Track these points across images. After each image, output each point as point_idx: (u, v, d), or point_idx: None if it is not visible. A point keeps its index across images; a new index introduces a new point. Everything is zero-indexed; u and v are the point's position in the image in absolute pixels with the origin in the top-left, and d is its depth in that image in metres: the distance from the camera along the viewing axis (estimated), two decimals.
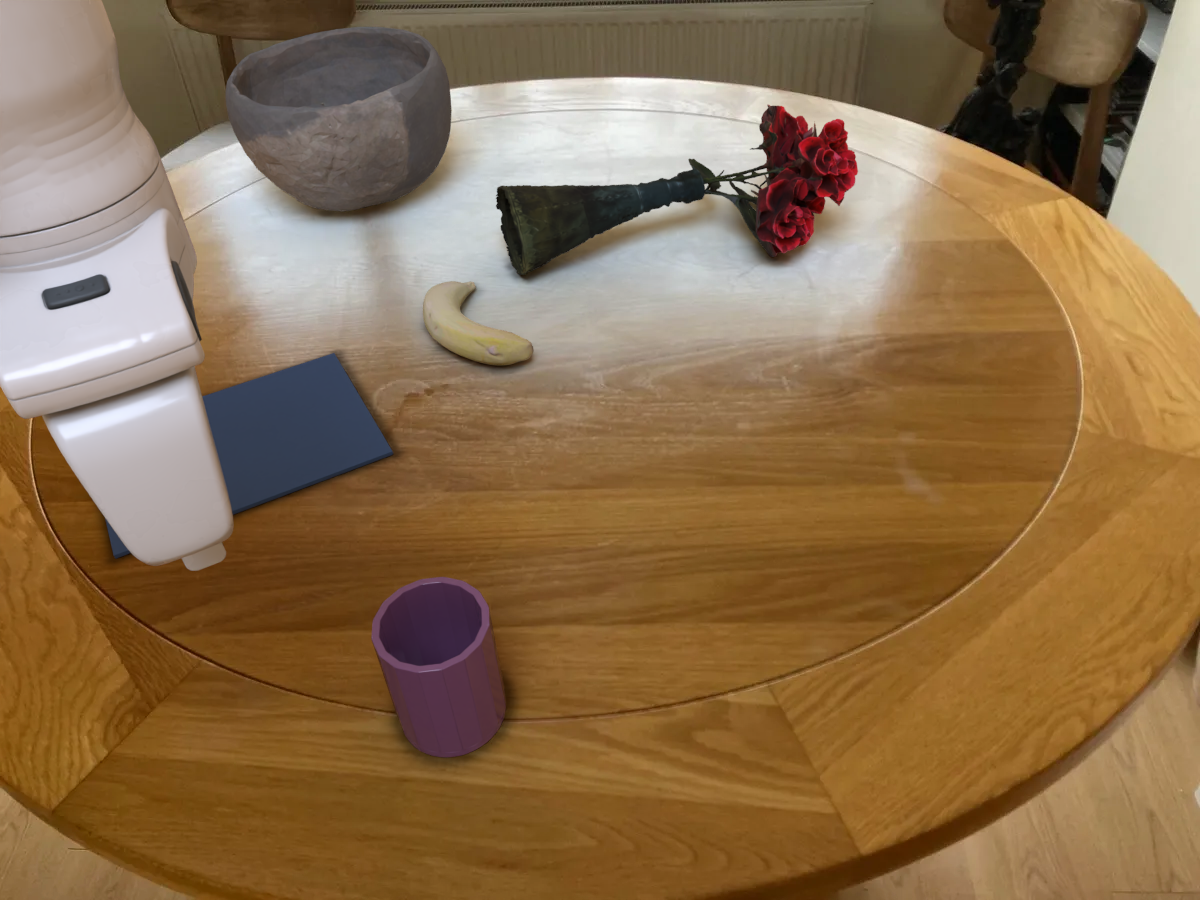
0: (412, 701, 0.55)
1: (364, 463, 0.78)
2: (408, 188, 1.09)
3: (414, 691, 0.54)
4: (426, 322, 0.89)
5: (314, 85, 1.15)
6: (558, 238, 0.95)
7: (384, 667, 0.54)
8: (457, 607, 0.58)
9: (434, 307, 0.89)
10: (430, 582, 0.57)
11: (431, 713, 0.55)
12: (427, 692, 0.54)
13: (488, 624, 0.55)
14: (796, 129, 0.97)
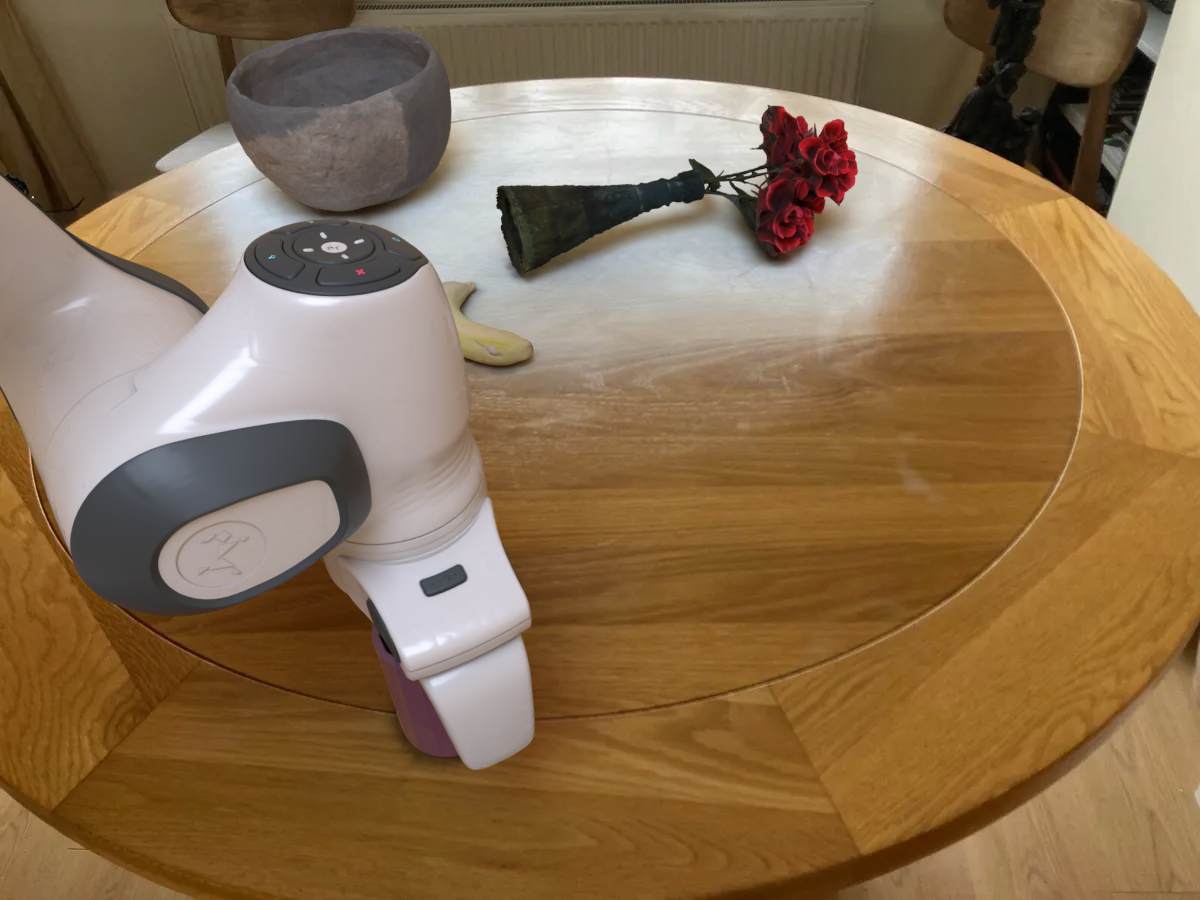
0: (412, 701, 0.55)
1: None
2: (408, 188, 1.09)
3: (414, 691, 0.54)
4: None
5: (314, 85, 1.15)
6: (558, 237, 0.95)
7: (384, 667, 0.54)
8: None
9: None
10: None
11: (431, 713, 0.55)
12: None
13: None
14: (796, 129, 0.97)
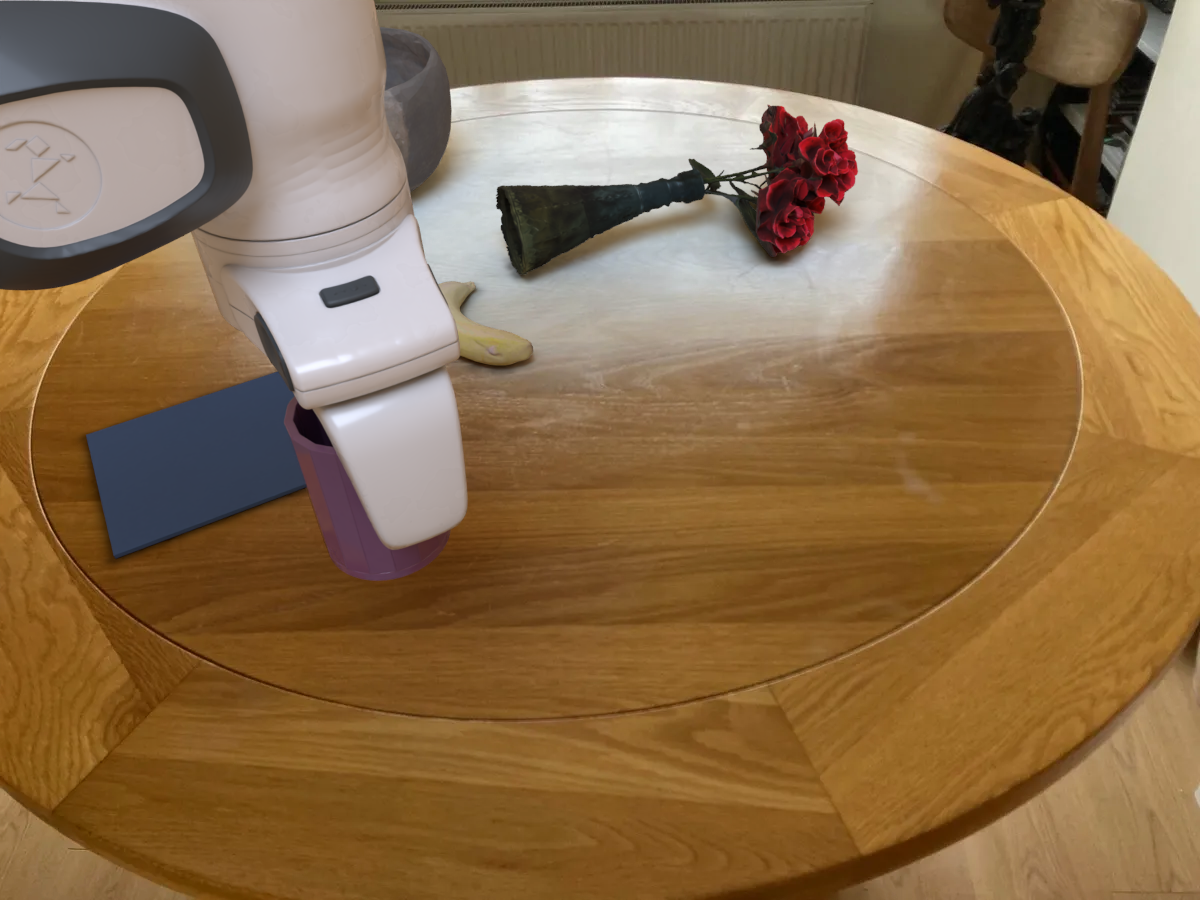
0: (332, 499, 0.46)
1: None
2: None
3: (333, 483, 0.45)
4: None
5: None
6: (558, 237, 0.95)
7: (298, 454, 0.45)
8: None
9: None
10: None
11: (355, 515, 0.46)
12: (349, 484, 0.45)
13: None
14: (796, 129, 0.97)
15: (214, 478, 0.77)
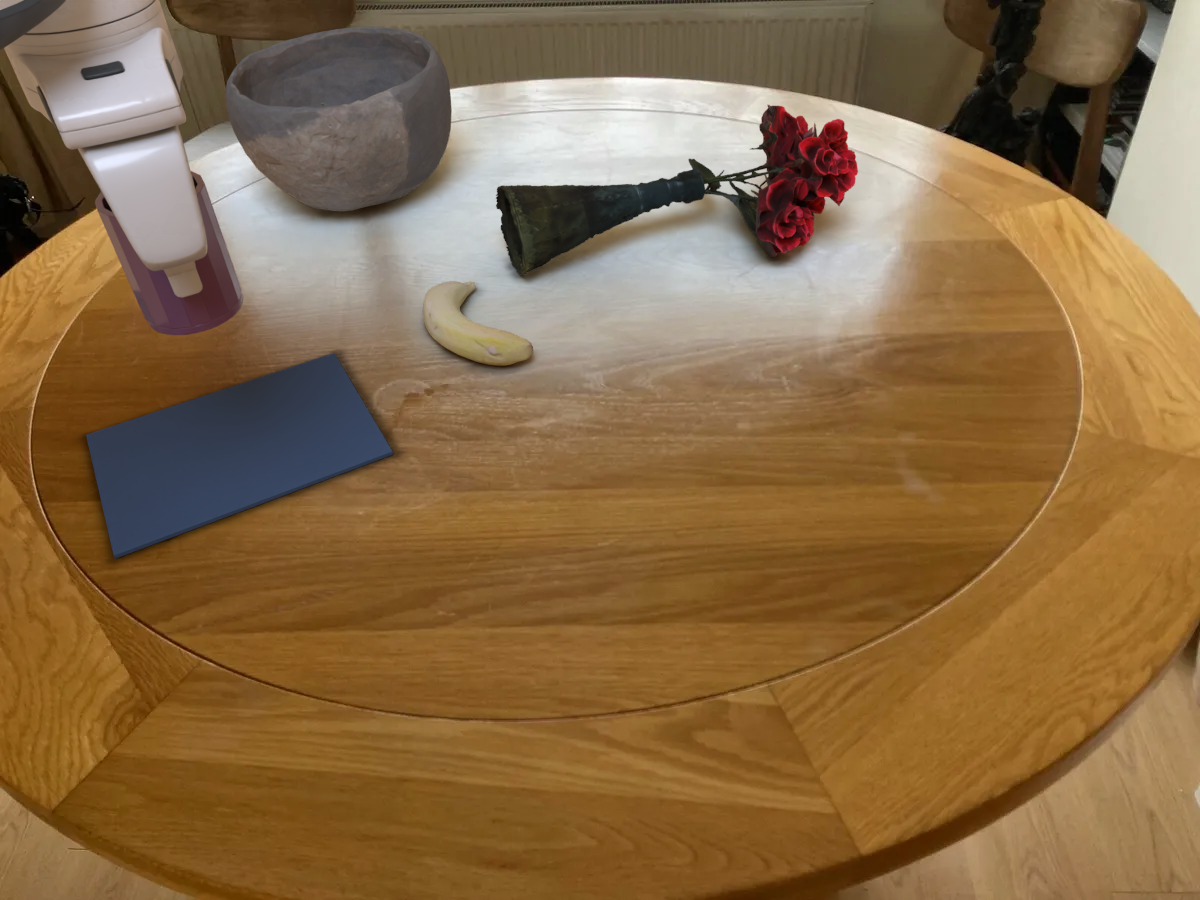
0: (132, 260, 0.62)
1: (364, 463, 0.78)
2: (408, 188, 1.09)
3: (131, 245, 0.61)
4: (426, 322, 0.89)
5: (314, 85, 1.15)
6: (558, 237, 0.95)
7: (104, 224, 0.61)
8: None
9: (434, 307, 0.89)
10: None
11: (151, 274, 0.62)
12: None
13: (199, 192, 0.62)
14: (796, 129, 0.97)
15: (214, 478, 0.77)
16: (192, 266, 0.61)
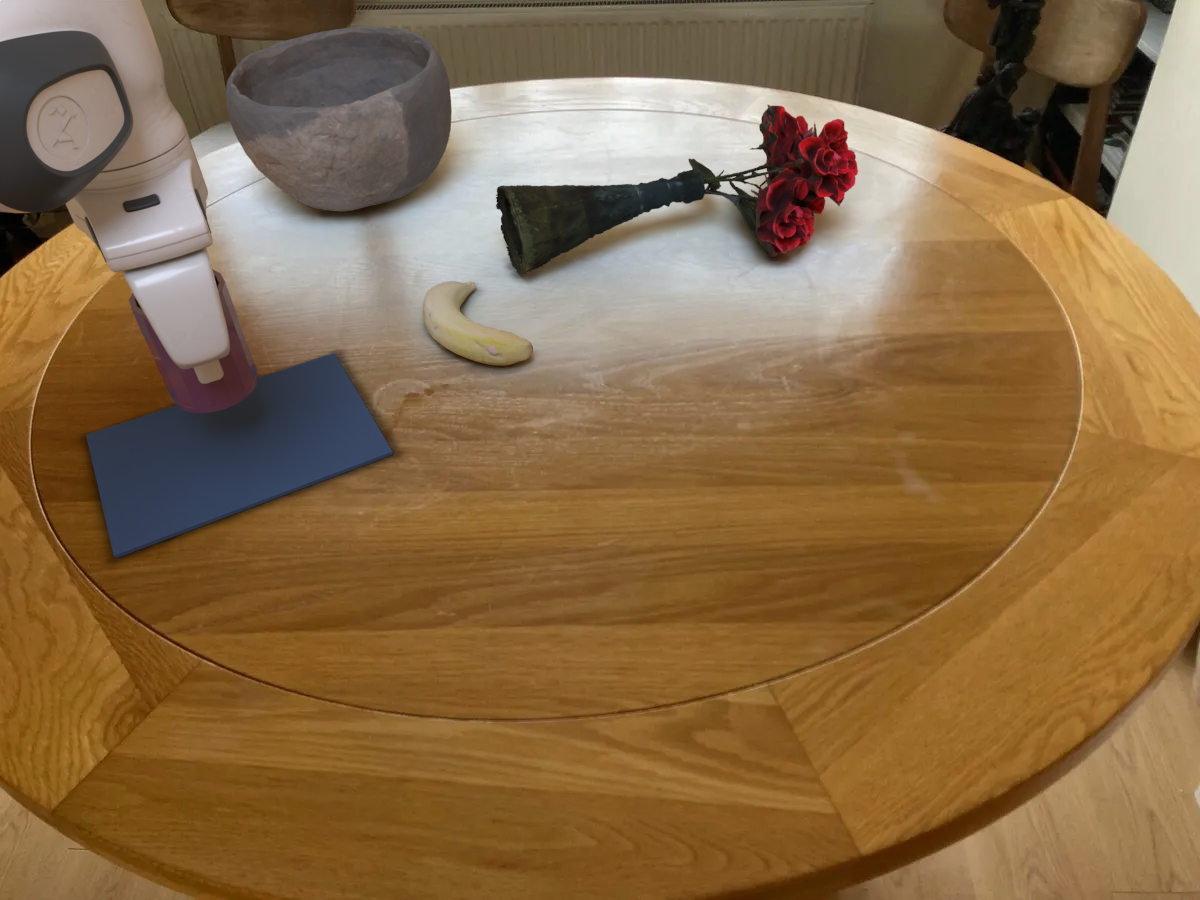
0: (161, 351, 0.70)
1: (364, 463, 0.78)
2: (408, 188, 1.09)
3: None
4: (426, 322, 0.89)
5: (314, 85, 1.15)
6: (558, 238, 0.95)
7: (137, 321, 0.69)
8: None
9: (434, 307, 0.89)
10: None
11: None
12: None
13: (221, 291, 0.70)
14: (796, 129, 0.97)
15: (214, 478, 0.77)
16: None
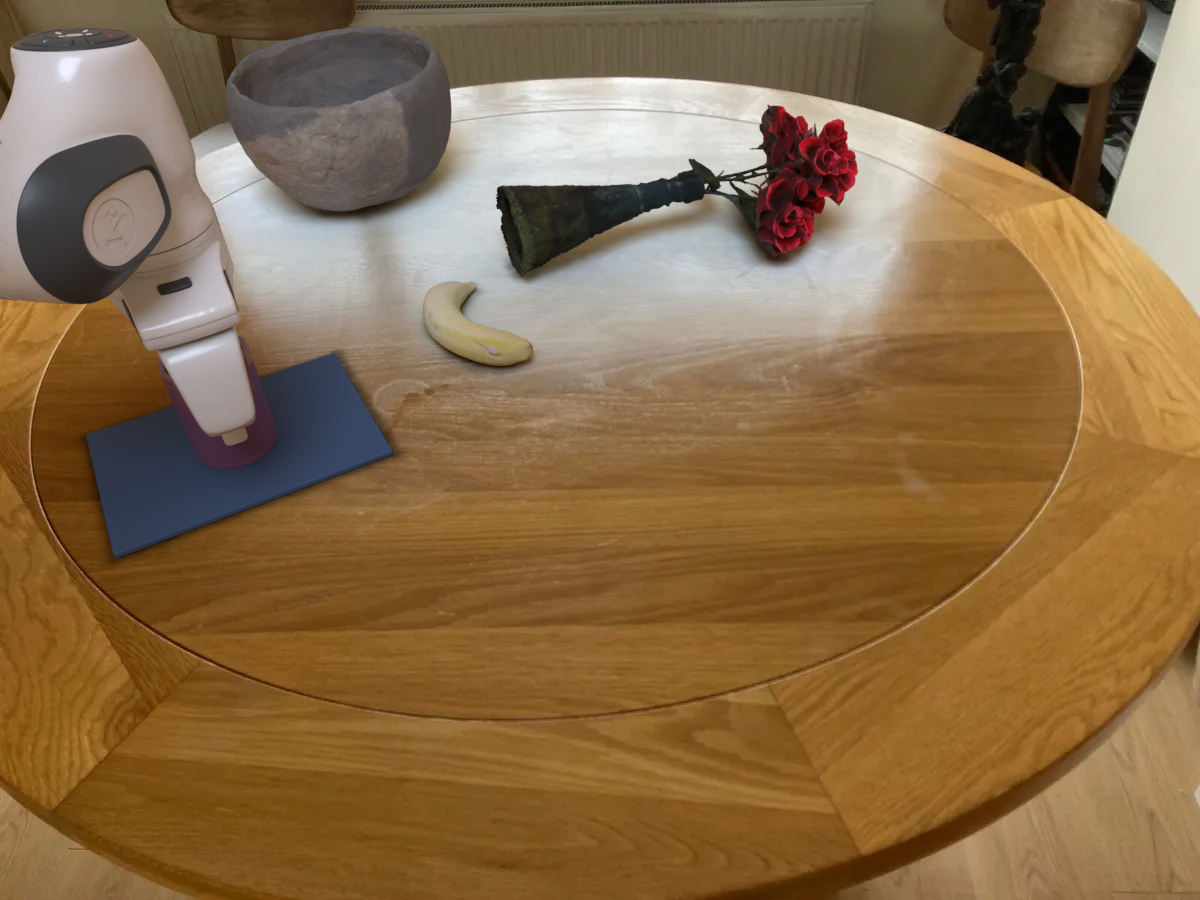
0: (188, 413, 0.74)
1: (364, 463, 0.78)
2: (408, 188, 1.09)
3: None
4: (426, 322, 0.89)
5: (314, 85, 1.15)
6: (558, 237, 0.95)
7: (165, 385, 0.73)
8: None
9: (434, 307, 0.89)
10: None
11: None
12: None
13: (244, 356, 0.74)
14: (796, 129, 0.97)
15: (214, 478, 0.77)
16: None
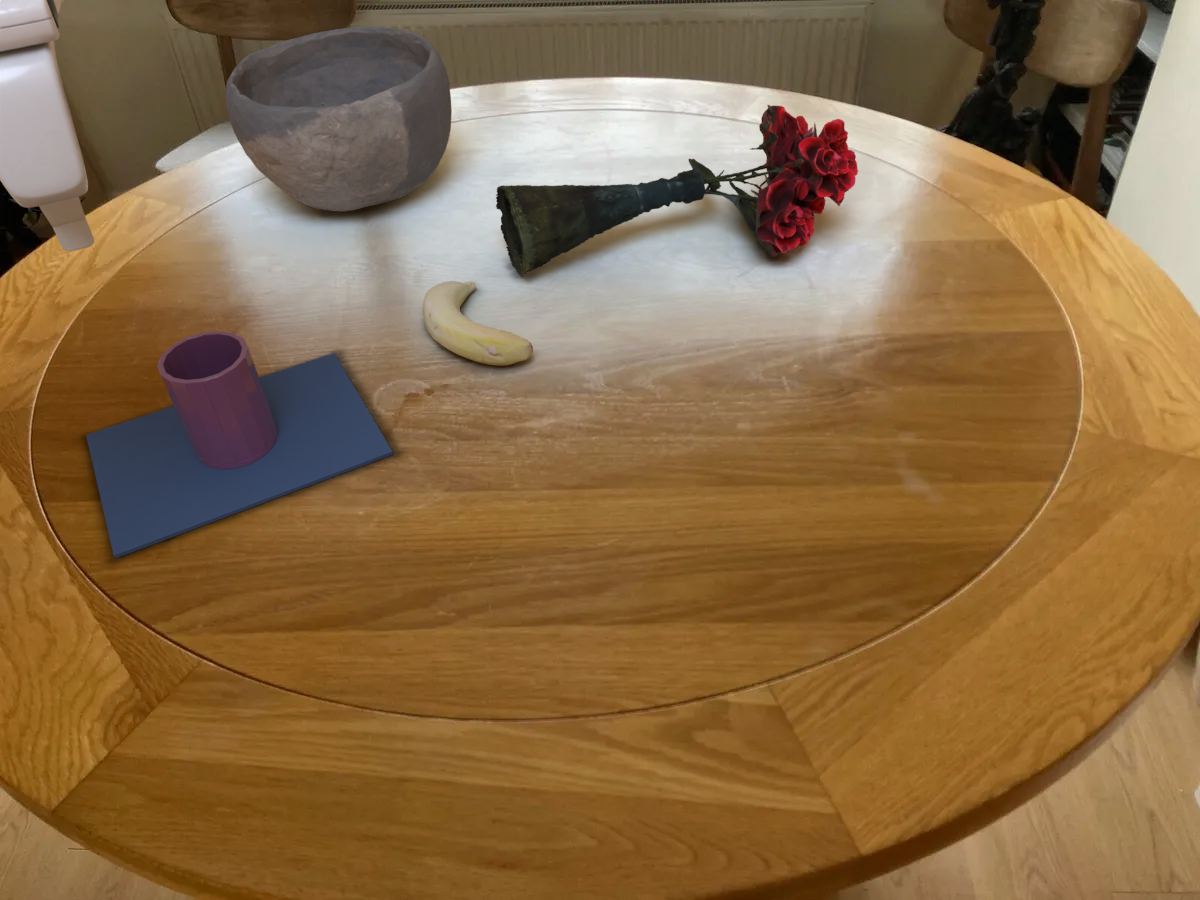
0: (188, 413, 0.74)
1: (364, 463, 0.78)
2: (408, 188, 1.09)
3: (187, 403, 0.73)
4: (426, 322, 0.89)
5: (314, 85, 1.15)
6: (558, 237, 0.95)
7: (165, 385, 0.73)
8: (232, 357, 0.78)
9: (434, 307, 0.89)
10: (208, 334, 0.77)
11: (204, 424, 0.75)
12: (196, 402, 0.73)
13: (244, 356, 0.74)
14: (796, 129, 0.97)
15: (214, 478, 0.77)
16: (80, 215, 0.55)
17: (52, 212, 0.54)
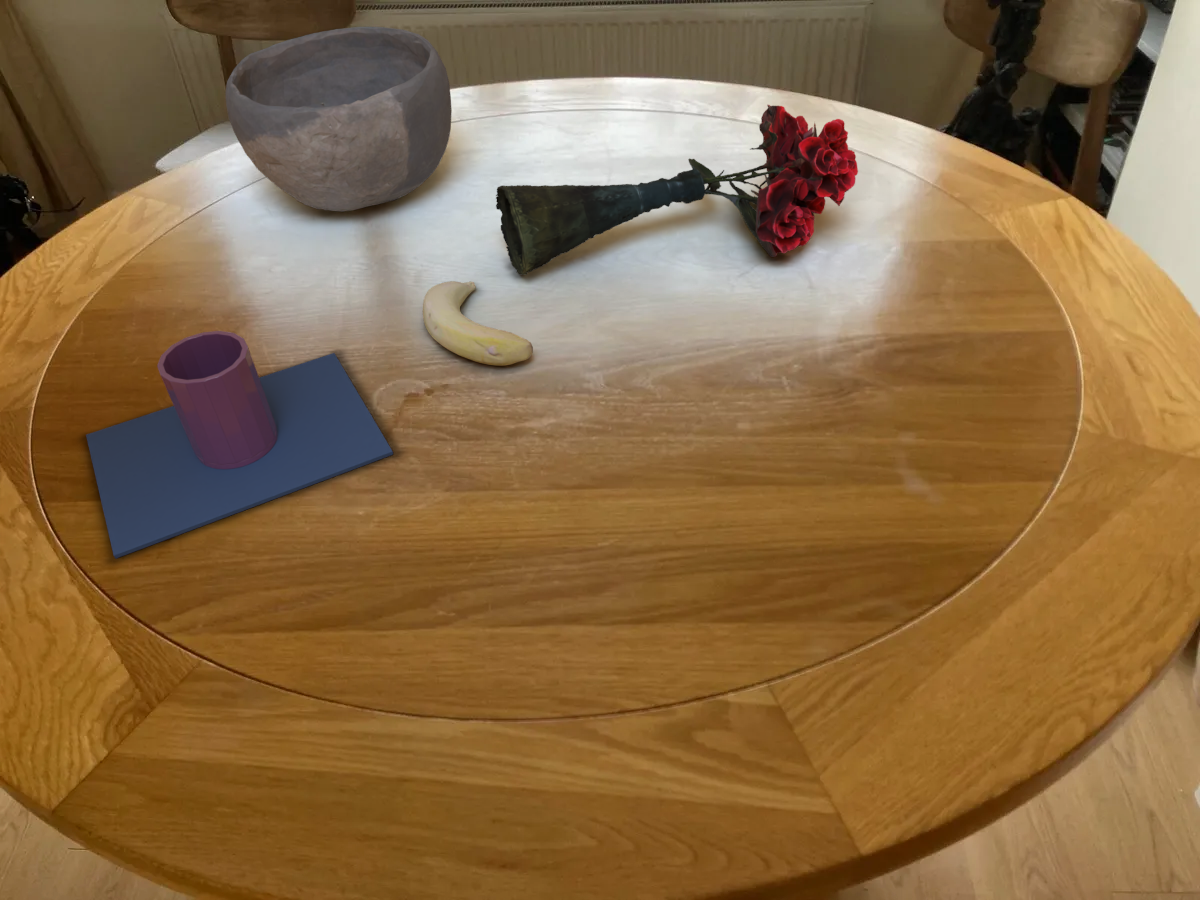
0: (188, 413, 0.74)
1: (364, 463, 0.78)
2: (408, 188, 1.09)
3: (187, 403, 0.73)
4: (426, 322, 0.89)
5: (314, 85, 1.15)
6: (558, 238, 0.95)
7: (165, 385, 0.73)
8: (232, 357, 0.78)
9: (434, 307, 0.89)
10: (208, 334, 0.77)
11: (204, 424, 0.75)
12: (196, 402, 0.73)
13: (244, 356, 0.74)
14: (796, 129, 0.97)
15: (214, 478, 0.77)
16: None
17: None
